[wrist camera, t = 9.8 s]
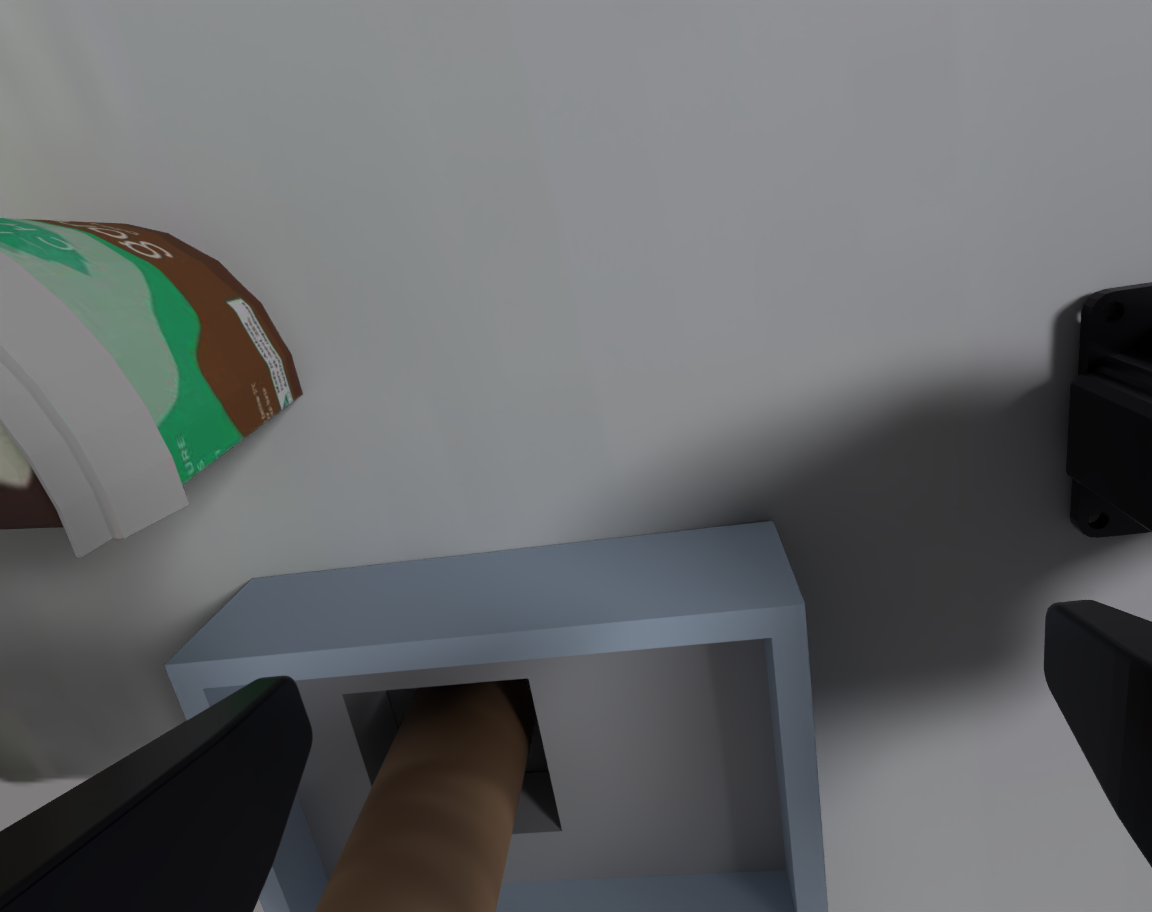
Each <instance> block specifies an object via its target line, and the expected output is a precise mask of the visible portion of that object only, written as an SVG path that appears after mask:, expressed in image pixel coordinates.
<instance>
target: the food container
mask: <svg viewBox="0 0 1152 912" xmlns="http://www.w3.org/2000/svg"><path fill="white" fill-rule="evenodd" d="M302 394H303V393H302V389H301V386H300V382H299V379H298V376H297V372H296V369H295V365H294V362H293V359H292V355H291V353H290V351H289V350H288V348H287V346H286V344H285V343H284V341H283V339H282V338H281V336H280V334H279V332H278V331H277V329H276V327H275V326H274V324H273V322H272V321H271V319H270V317H269V315H268V314H267V312H266V310H265V309H264V307H263V305H262V304H261V302H259V301H258V300H257V299H256V298H255V297H254V296H253V295H252V294H251V293H250V292H249V291H248V290H247V289H246V288H245V287H244V286H243V285H242V284H241V283H240V282H239V281H238V280H237V279H236V278H235V277H234V276H233V275H232V274H231V273H230V272H229V271H228V270H227V269H226V268H225V267H224V266H223V265H222V264H221V263H220V262H219V261H217V260H215V259H214V258H212V257H210V256H208V255H206V254H205V253H203V252H201V251H199V250H197V249H195V248H194V247H192V246H190V245H188V244H186V243H185V242H183V241H181V240H179V239H177V238H176V237H174V236H172V235H170V234H168V233H164V232H160V231H156V230H151V229H147V228H142V227H138V226H133V225H129V224H118V223H96V222H73V221H51V220H29V219H6V218H0V529H22V528H51V527H64V529H65V532H66V534H67V536H68V539H69V541H70V544H71V546H72V548H73V551H74V553H75V556H76V558H82V557H83V556H85V555H87V554H88V553H90V552H91V551H93V550H95V549H96V548H98V547H100V546H101V545H103V544H104V543H106V542H108V541H109V540H111V539H125V538H127V537H129V536H130V535H132V534H134V533H136V532H138V531H140V530H142V529H144V528H146V527H148V526H149V525H151V524H153V523H155V522H157V521H159V520H161V519H163V518H165V517H167V516H168V515H170V514H172V513H174V512H176V511H178V510H180V509H182V508H184V507H186V506H187V505H189V502H188V499H187V497H186V494H185V491H184V488H183V484H184V483H186V482H187V481H188V480H190V479H191V478H192V477H194V476H195V475H196V474H198V473H199V472H200V471H202V470H203V469H204V468H205V467H207V466H208V465H209V464H211V463H212V462H213V461H215V460H216V459H217V458H219V457H220V456H221V455H223V454H224V453H225V452H227V451H228V450H229V449H231V448H232V447H233V446H235V445H236V444H237V443H239V442H240V441H241V440H243V439H244V438H245V437H247V436H248V435H249V434H251V433H252V432H253V431H255V430H256V429H257V428H259V427H260V426H261V425H263V424H264V423H265V422H267V421H268V420H269V419H271V418H272V417H273V416H275V415H276V414H277V413H278V412H280V411H281V410H282V409H284V408H285V407H286V406H288V405H289V404H290V403H292V402H293V401H294V400H296V399H297V398H298V397H300V396H301V395H302Z"/></svg>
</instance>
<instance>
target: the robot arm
mask: <svg viewBox="0 0 1152 912" xmlns="http://www.w3.org/2000/svg"><path fill="white" fill-rule="evenodd" d="M1111 302H1113V303H1114V306H1115V310H1114V312H1113V314H1112V315H1111V316H1110V317H1109V318H1108V319H1105V320H1103V319H1102V311H1103V308H1104V307H1105V306H1106V305H1107V304H1108V303H1111ZM1066 472H1067V474H1068V475H1069V476H1071V477H1072V494H1071V512H1070V518H1071V523H1072V524H1073V525H1074V526H1075V528H1077V529H1078V530H1079V531H1080V532H1082V533H1083V534H1085V535H1087V536H1089V537H1097V538H1098V537H1108V536H1118V535H1128V534H1137V533H1147V532H1152V282H1151V283H1144V284H1137V285H1130V286H1123V287H1116V288H1109V289H1104V290H1101V291H1098V292H1095V293H1094V294H1093V295H1091V296H1090V297H1089V298H1088V299H1087V301H1086V302H1085V303H1084V305H1083V309H1082V312H1081V329H1080V347H1079V366H1078V376H1077V377H1076V379H1075V380H1074V381H1073V383H1072V384H1071V387H1070V406H1069V425H1068V445H1067V464H1066ZM1099 511H1100V512H1101V514H1100V517H1099V518H1098V519H1097V520H1096V521H1094V522H1091V523H1088V521H1089V518H1090V516H1092V515H1093V514H1094V513H1096V512H1099ZM1044 673H1045V678H1046V681H1047V684H1048V687H1049V689H1050V691H1051V693H1052V695H1053V697H1054V699H1055V700H1056V702H1057V704H1058V706H1059V708H1060V710H1061V712H1062V714H1063V715H1064V717H1065V719H1066V721H1067V723H1068V725H1069V727H1070V729H1071V731H1072V732H1073V734H1074V736H1075V738H1076V740H1077V742H1078V744H1079V746H1080V747H1081V749H1082V751H1083V753H1084V755H1085V757H1086V759H1087V761H1088V762H1089V764H1090V766H1091V768H1092V770H1093V772H1094V774H1095V776H1096V778H1097V779H1098V781H1099V783H1100V785H1101V787H1102V789H1103V791H1104V793H1105V794H1106V796H1107V798H1108V800H1109V801H1110V803H1111V805H1112V807H1113V808H1114V810H1115V812H1116V814H1117V815H1118V817H1119V819H1120V820H1121V822H1122V823H1123V825H1124V826H1125V828H1126V829H1127V831H1128V833H1129V834H1130V836H1131V837H1132V839H1133V840H1134V842H1135V843H1136V845H1137V846H1138V848H1139V849H1140V851H1141V852H1142V854H1143V855H1144V857H1145V858H1146V859H1147V861H1148V862H1149V864H1150V865H1151V867H1152V622H1151V621H1148V620H1145V619H1143V618H1140V617H1137V616H1134V615H1132V614H1129V613H1126V612H1124V611H1121V610H1118V609H1115V608H1113V607H1110V606H1107V605H1105V604H1102V603H1099V602H1096V601H1093V600H1078V601H1068V602H1058V603H1054V604H1052V605H1051V606H1050V607H1049V608H1048V610H1047V613H1046V621H1045V646H1044ZM312 741H313V733H312V727H311V723H310V720H309V717H308V715H307V712H306V709H305V706H304V703H303V700H302V697H301V694H300V692H299V689H298V686H297V684H296V682H295V681H294V679H293V678H291V677H289V676H286V675H285V676H273V677H262V678H259V679H256V680H254V681H253V682H251V683H249V684H247V685H246V686H244V687H242V688H241V689H239V690H237V691H236V692H234V693H232V694H231V695H229V696H227V697H226V698H224V699H222V700H221V701H219V702H217V703H216V704H214V705H212V706H211V707H209V708H207V709H205V710H204V711H202V712H200V713H199V714H197V715H195V716H194V717H192V718H190V719H189V720H187V721H185V722H184V723H182V724H180V725H179V726H177V727H175V728H174V729H172V730H170V731H168V732H167V733H165V734H163V735H162V736H160V737H158V738H157V739H155V740H153V741H152V742H150V743H148V744H147V745H145V746H143V747H142V748H140V749H138V750H137V751H135V752H133V753H132V754H130V755H128V756H126V757H125V758H123V759H121V760H120V761H118V762H116V763H115V764H113V765H111V766H110V767H108V768H106V769H105V770H103V771H101V772H100V773H98V774H96V775H95V776H93V777H91V778H89V779H88V780H86V781H84V782H83V783H81V784H79V785H78V786H76V787H74V788H73V789H71V790H69V791H68V792H66V793H64V794H63V795H61V796H59V797H58V798H56V799H54V800H53V801H51V802H49V803H47V804H46V805H44V806H42V807H41V808H39V809H38V810H36V811H34V812H32V813H31V814H29V815H27V816H26V817H24V818H22V819H21V820H19V821H17V822H16V823H14V824H12V825H11V826H9V827H7V828H5V829H4V830H2V831H1V832H0V912H253V910H254V908H255V906H256V903H257V901H258V899H259V896H260V894H261V892H262V890H263V887H264V885H265V883H266V880H267V878H268V875H269V873H270V870H271V868H272V865H273V863H274V860H275V857H276V854H277V852H278V849H279V846H280V843H281V840H282V837H283V834H284V831H285V828H286V825H287V822H288V819H289V816H290V812H291V809H292V806H293V803H294V800H295V797H296V794H297V791H298V788H299V785H300V782H301V778H302V775H303V772H304V769H305V766H306V763H307V760H308V757H309V754H310V751H311V747H312Z"/></svg>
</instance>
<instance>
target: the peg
mask: <svg viewBox="0 0 1152 912" xmlns="http://www.w3.org/2000/svg"><path fill="white" fill-rule="evenodd" d="M535 721H536V710H535V706H534V701H533V697H532V693H531V691H530V689H529V688H528V686H527V685H526V683H525V682H524V681H523V680H522V679H513V680H501V681H490V682H478V683H467V684H455V685H443V686H432V687H420V688H417V690H416V692H415V694H414V697H413V699H412V701H411V703H410V705H409V707H408V710H407V712H406V714H405V716H404V718H403V720H402V723H401V725H400V727H399V729H398V731H397V734H396V736H395V738H394V740H393V742H392V744H391V747H390V749H389V751H388V753H387V755H386V757H385V760H384V762H383V764H382V766H381V768H380V770H379V773H378V775H377V777H376V779H375V781H374V784H373V786H372V788H371V790H370V792H369V794H368V797H367V799H366V801H365V803H364V805H363V807H362V810H361V812H360V814H359V816H358V818H357V820H356V823H355V825H354V827H353V829H352V831H351V834H350V836H349V838H348V840H347V842H346V844H345V847H344V849H343V851H342V853H341V855H340V857H339V860H338V862H337V864H336V866H335V868H334V871H333V873H332V875H331V877H330V879H329V881H328V884H327V886H326V888H325V890H324V892H323V894H322V897H321V899H320V901H319V903H318V905H317V907H316V910H315V912H496V908H497V903H498V898H499V894H500V889H501V884H502V879H503V874H504V870H505V865H506V860H507V855H508V851H509V846H510V841H511V836H512V831H513V827H514V822H515V817H516V812H517V807H518V803H519V798H520V793H521V788H522V784H523V779H524V774H525V769H526V764H527V760H528V755H529V750H530V745H531V740H532V736H533V731H534V726H535Z"/></svg>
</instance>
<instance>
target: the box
mask: <svg viewBox="0 0 1152 912" xmlns="http://www.w3.org/2000/svg"><path fill="white" fill-rule="evenodd" d="M164 667H165V669H166V672H167V674H168V676H169V679H170V681H171V684H172V686H173V689H174V691H175V694H176V696H177V699H178V701H179V703H180V706H181V708H182V711H183V713H184V716H185V718H186V721H187V720H189V719H190V718H192V717H194V716H195V715H197V714H199V713H200V712H202V711H204V710H205V709H207V708H209V707H211V706H212V705H214V704H216V703H217V702H219V701H221V700H222V699H224V698H226V697H227V696H229V695H231V694H232V693H234V692H236V691H237V690H239V689H241V688H242V687H244V686H246V685H247V684H249V683H251V682H253V681H254V680H256V679H259V678H262V677H273V676H285V675H286V676H289V677H291V678H293V679H294V681H295V682H296V684H297V686H298V689H299V692H300V694H301V697H302V700H303V703H304V706H305V709H306V712H307V715H308V717H309V720H310V723H311V727H312V733H313V741H312V747H311V751H310V754H309V757H308V760H307V763H306V766H305V769H304V772H303V775H302V778H301V782H300V785H299V788H298V791H297V794H296V797H295V800H294V803H293V806H292V809H291V812H290V816H289V819H288V822H287V825H286V828H285V831H284V834H283V837H282V840H281V843H280V846H279V849H278V852H277V854H276V857H275V860H274V863H273V865H272V868H271V870H270V873H269V875H268V878H267V880H266V883H265V885H264V887H263V890H262V892H261V894H260V896H259V900H260V902H261V904H262V907H263V910H264V912H315V910H316V907H317V905H318V903H319V901H320V899H321V897H322V894H323V892H324V890H325V888H326V886H327V884H328V881H329V879H330V877H331V875H332V873H333V871H334V868H335V866H336V864H337V862H338V860H339V857H340V855H341V853H342V851H343V849H344V847H345V844H346V842H347V840H348V838H349V836H350V834H351V831H352V829H353V827H354V825H355V823H356V820H357V818H358V816H359V814H360V812H361V810H362V807H363V805H364V803H365V801H366V799H367V797H368V794H369V792H370V790H371V788H372V786H373V784H374V781H375V779H376V777H377V775H378V773H379V770H380V768H381V766H382V764H383V762H384V760H385V757H386V755H387V753H388V751H389V749H390V747H391V744H392V742H393V740H394V738H395V736H396V734H397V731H398V729H397V726H396V722H395V719H394V716H393V712H392V709H391V706H390V702H389V699H388V695H387V692H386V690H397V689H408V688H420V687H432V686H443V685H455V684H467V683H478V682H490V681H501V680H513V679H525V678H528V679H529V683H530V688H531V692H532V697H533V701H534V706H535V710H536V715H537V719H538V724H539V728H540V733H541V737H542V742H543V747H544V751H545V756H546V760H547V765H548V769H549V772H535V773H525V774H524V779H523V784H522V788H521V793H520V798H519V803H518V807H517V812H516V817H515V822H514V827H513V831H512V836H511V841H510V846H509V851H508V855H507V860H506V865H505V870H504V874H503V879H502V884H501V889H500V894H499V898H498V903H497V908H496V912H828V902H827V889H826V876H825V863H824V849H823V836H822V823H821V809H820V796H819V783H818V769H817V756H816V743H815V730H814V716H813V703H812V690H811V676H810V663H809V650H808V637H807V623H806V610H805V603H804V600H803V598H802V595H801V592H800V590H799V587H798V584H797V582H796V579H795V577H794V574H793V571H792V569H791V566H790V564H789V561H788V558H787V556H786V553H785V550H784V548H783V545H782V543H781V540H780V537H779V535H778V532H777V530H776V527H775V524H774V522H773V521H766V522H757V523H748V524H739V525H730V526H721V527H712V528H703V529H694V530H685V531H676V532H667V533H658V534H649V535H640V536H631V537H622V538H613V539H604V540H595V541H586V542H577V543H568V544H559V545H550V546H541V547H532V548H523V549H514V550H505V551H496V552H487V553H478V554H469V555H460V556H451V557H442V558H433V559H424V560H415V561H406V562H397V563H388V564H379V565H370V566H361V567H352V568H343V569H334V570H325V571H316V572H307V573H298V574H289V575H280V576H271V577H262V578H253V579H251V580H250V581H249V582H248V583H247V584H246V585H245V586H244V587H243V588H242V589H241V590H240V591H239V592H238V593H237V594H236V595H235V596H234V597H233V598H232V599H231V600H230V601H229V602H228V603H227V604H226V605H225V606H224V607H223V608H222V609H221V610H220V611H219V612H218V613H217V614H216V615H215V616H213V617H212V618H211V619H210V620H209V621H208V622H207V623H206V624H205V625H204V626H203V627H202V628H201V629H200V630H199V631H198V632H197V633H196V634H195V635H194V636H193V637H192V638H191V639H190V640H189V641H188V642H187V643H186V644H185V645H184V646H183V647H182V648H181V649H180V650H179V651H178V652H177V653H176V654H175V655H174V656H173V657H172V658H171V659H170V660H169V661H168V662H167V663H166V664H165V665H164Z"/></svg>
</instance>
